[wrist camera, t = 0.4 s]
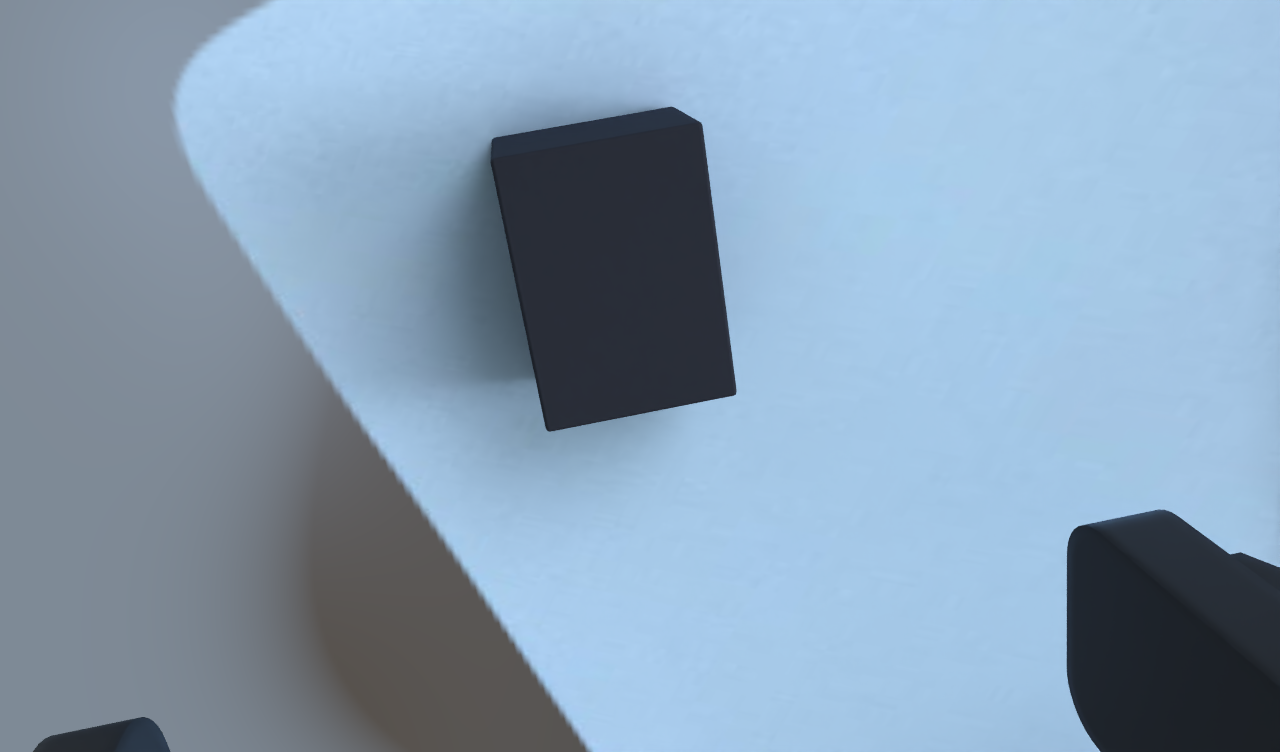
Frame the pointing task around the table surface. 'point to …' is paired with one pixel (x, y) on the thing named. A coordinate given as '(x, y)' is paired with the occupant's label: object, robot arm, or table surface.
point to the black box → (616, 265)
